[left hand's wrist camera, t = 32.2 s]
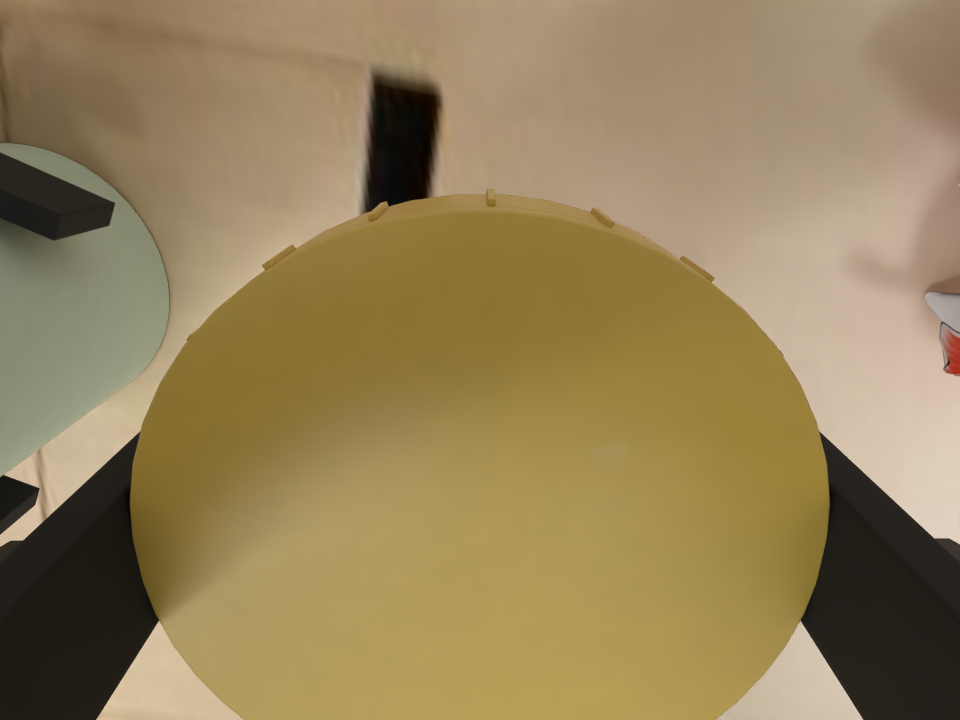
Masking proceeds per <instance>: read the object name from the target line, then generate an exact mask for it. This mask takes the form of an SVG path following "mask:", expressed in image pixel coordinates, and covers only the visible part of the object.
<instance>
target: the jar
mask: <svg viewBox="0 0 960 720" xmlns="http://www.w3.org/2000/svg"><path fill="white" fill-rule="evenodd" d="M0 152H1V153H3V154H5V155H8V156H10V157H12V158H14V159H17V160H19V161H21V162H24V163H26V164H28V165H30V166H33V167H35V168H37V169H39V170H42V171H44V172H46V173H48V174H51V175H53V176H55V177H58V178H60V179H62V180H64V181H67V182H69V183H71V184H73V185H76V186H78V187H80V188H83V189H85V190H87V191H89V192H92V193H94V194H96V195H98V196H101V197H103V198H105V199H108V200H110V201H112V202H114V203H115V207H114V210H113V214H112V218H111V222H110V225H109V226H107V227H103V228H99V229H96V230H92V231H88V232H84V233H81V234H77V235H73V236H70V237H66V238H62V239H59V240H55V241H53V240H51V239H48V238H46V237H44V236H41V235H39V234H37V233H34V232H32V231H30V230H27V229H25V228H23V227H20V226H18V225H16V224H13V223H11V222H8V221H6V220H4V219H1V218H0V477H1V476H3V475H4V474H5V473H7V472H8V471H9V470H11V469H12V468H14V467H15V466H16V465H18V464H19V463H20V462H22V461H23V460H24V459H26V458H27V457H29V456H30V455H31V454H33V453H34V452H35V451H37V450H38V449H39V448H41V447H42V446H44V445H45V444H46V443H48V442H49V441H50V440H52V439H53V438H55V437H56V436H57V435H59V434H60V433H61V432H63V431H64V430H65V429H67V428H68V427H70V426H71V425H72V424H74V423H75V422H76V421H78V420H79V419H80V418H82V417H83V416H85V415H86V414H87V413H89V412H90V411H91V410H93V409H94V408H96V407H97V406H98V405H100V404H101V403H102V402H104V401H105V400H106V399H108V398H109V397H111V396H112V395H113V394H115V393H116V392H117V391H119V390H120V389H122V388H123V387H124V386H126V385H127V384H128V383H130V382H131V381H132V380H134V379H135V378H136V377H137V376H138V375H139V374H140V373H141V372H143V371H144V369H145V368H146V367H147V366H148V364H149V363H150V362H151V361H152V360H153V358H154V356H155V354H156V353H157V351H158V349H159V347H160V345H161V342H162V340H163V337H164V335H165V331H166V327H167V322H168V316H169V288H168V281H167V276H166V272H165V268H164V265H163V262H162V259H161V256H160V253H159V250H158V248H157V246H156V244H155V242H154V240H153V238H152V236H151V234H150V232H149V231H148V229H147V228H146V226H145V224H144V223H143V221H142V219H141V218H140V217H139V216H138V214H137V213H136V212H135V211H134V209H133V208H132V207H131V205H130V204H129V203H128V202H127V201H126V200H125V199H124V198H123V197H122V196H121V195H120V194H119V193H118V192H117V191H116V190H115V189H114V188H113V187H112V186H110V185H109V184H108V183H107V182H105V181H104V180H103V179H102V178H101V177H99V176H98V175H96V174H95V173H93V172H92V171H90V170H89V169H87V168H86V167H84V166H82V165H80V164H79V163H77V162H75V161H73V160H71V159H69V158H67V157H65V156H62V155H59V154H57V153H54V152H51V151H49V150H46V149H42V148H37V147H33V146H29V145H22V144H13V143H0Z"/></svg>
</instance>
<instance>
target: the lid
mask: <svg viewBox="0 0 960 720" xmlns="http://www.w3.org/2000/svg"><path fill="white" fill-rule="evenodd" d="M262 266H263V267H264V269H265V271H263V272H262V273H261V274H259V275H258V276H256V277H255V278H254V279H252V280H251V281H250V282H249V283H248V284H246V285H245V286H244V287H243V288H241V289H240V290H239V291H238V292H237V293H235V294H234V295H233V296H232V297H231V298H229V299H228V300H227V301H226V302H225V303H223V304H222V305H221V306H220V307H219V308H217V309H216V310H215V311H214V312H213V313H212V314H211V316H210V317H209V318H208V319H207V320H206V321H205V322H204V324H203V325H202V326H201V327H200V328H199V329H197V330H196V331H195V332H193V333H192V334H191V335H190V336H189V337H188V338H187V341H188V342H187V343H186V344H185V345H184V346H183V348H182V349H181V351H180V353H179V354H178V356H177V357H176V359H175V360H174V362H173V364H172V365H171V367H170V368H169V370H168V371H167V373H166V374H165V376H164V378H163V379H162V381H161V382H160V384H159V387H158V389H157V391H156V393H155V396H154V398H153V400H152V403H151V405H150V407H149V410H148V412H147V414H146V417H145V419H144V421H143V424H142V428H141V432H140V436H139V440H138V444H137V448H136V452H135V456H134V460H133V468H132V480H131V492H130V515H131V528H132V537H133V542H134V546H135V551H136V555H137V559H138V563H139V568H140V572H141V576H142V580H143V584H144V587H145V589H146V592H147V594H148V597H149V599H150V602H151V604H152V607H153V609H154V612H155V614H156V616H157V618H158V619H159V621H160V623H161V625H162V626H163V628H164V630H165V632H166V633H167V635H168V637H169V639H170V640H171V642H172V644H173V646H174V647H175V648H176V650H177V651H178V652H179V654H180V655H181V656H182V657H183V659H184V660H185V661H186V663H187V664H188V665H189V667H190V668H191V669H192V671H193V672H194V673H195V675H196V676H197V677H198V678H199V679H200V680H201V681H202V682H203V683H204V684H205V685H206V686H207V687H208V688H209V689H210V690H211V691H212V692H213V693H214V694H215V695H216V696H217V697H218V698H219V699H220V700H221V701H222V702H223V703H224V704H225V705H227V706H228V707H229V708H230V709H231V710H233V711H234V712H235V713H236V714H238V715H239V716H240V717H241V718H243V719H244V720H716V719H717V718H718V717H719V716H720V715H722V714H723V713H724V712H725V711H727V710H728V709H729V708H730V707H732V706H733V705H734V704H735V703H737V702H738V701H739V700H740V699H741V698H742V697H743V696H744V695H745V694H746V693H747V691H748V690H749V689H750V688H751V687H752V686H753V685H754V684H755V683H756V682H757V681H758V680H759V679H760V678H761V677H762V676H763V675H764V674H765V672H766V671H767V670H768V669H769V667H770V666H771V665H772V663H773V662H774V661H775V659H776V658H777V657H778V655H779V654H780V653H781V651H782V650H783V649H784V647H785V646H786V645H787V643H788V641H789V639H790V638H791V636H792V634H793V632H794V631H795V629H796V627H797V625H798V624H799V622H800V620H801V618H802V617H803V615H804V613H805V611H806V608H807V606H808V603H809V601H810V598H811V596H812V593H813V591H814V588H815V585H816V581H817V577H818V573H819V569H820V565H821V560H822V556H823V552H824V548H825V543H826V538H827V533H828V523H829V510H830V496H829V484H828V472H827V462H826V458H825V454H824V450H823V446H822V442H821V438H820V434H819V430H818V426H817V422H816V420H815V417H814V415H813V413H812V410H811V408H810V406H809V403H808V401H807V399H806V396H805V394H804V392H803V389H802V387H801V385H800V383H799V381H798V380H797V378H796V376H795V375H794V373H793V372H792V370H791V369H790V367H789V365H788V364H787V362H786V361H785V359H784V358H783V354H782V352H781V351H780V350H779V349H778V348H777V347H776V345H775V344H774V343H773V342H772V341H771V340H770V338H769V337H768V336H767V335H766V334H765V333H764V332H763V330H762V329H761V328H760V327H759V326H758V325H757V324H756V323H755V321H754V320H753V319H752V318H751V317H750V316H749V315H748V314H747V312H746V311H745V310H744V309H742V308H741V307H740V306H739V305H738V304H736V303H735V302H734V301H733V300H732V299H730V298H729V297H728V296H727V295H726V294H724V293H723V292H722V291H721V290H720V289H718V288H717V287H716V286H715V285H714V284H712V283H711V282H712V281H713V280H714V277H713V276H712V275H710V274H709V273H708V272H706V271H705V270H703V269H702V268H700V267H699V266H697V265H696V264H694V263H693V262H692V261H690V260H689V259H687V258H686V257H684V256H682V257H681V258H680V259H678V258H677V257H676V256H674V255H673V254H672V253H670V252H668V251H667V250H665V249H663V248H662V247H660V246H658V245H657V244H655V243H654V242H652V241H650V240H649V239H647V238H645V237H644V236H642V235H641V234H639V233H637V232H636V231H634V230H631V229H629V228H627V227H625V226H622V225H620V224H618V223H615V222H614V221H612V220H611V219H610V218H609V217H607V216H606V215H605V214H603V213H602V212H601V211H600V210H598V209H596V208H592V210H591V212H588V211H584V210H581V209H577V208H574V207H570V206H566V205H563V204H559V203H556V202H552V201H547V200H540V199H533V198H525V197H518V196H511V195H495V194H494V189H487V195H459V194H457V195H449V196H442V197H435V198H427V199H420V200H412V201H408V202H404V203H401V204H397V205H393V206H390V207H388V204H387V202H383V203H380V204H379V205H378V206H377V207H376V208H375V209H374V210H372V211H371V212H368V213H365V214H363V215H361V216H358V217H356V218H354V219H351V220H349V221H347V222H344V223H342V224H340V225H337V226H335V227H333V228H331V229H328V230H326V231H324V232H323V233H321V234H319V235H318V236H316V237H314V238H313V239H311V240H309V241H308V242H306V243H305V244H303V245H301V246H300V247H298V248H295V247H294V246H293V245H291V246H289V247H288V248H286V249H285V250H283V251H282V252H280V253H279V254H278V255H276V256H275V257H273V258H272V259H270V260H269V261H267V262H266V263H265V264H263V265H262Z"/></svg>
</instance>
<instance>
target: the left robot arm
mask: <svg viewBox="0 0 960 720" xmlns="http://www.w3.org/2000/svg"><path fill="white" fill-rule="evenodd" d="M140 432H141V431H140ZM140 432H139V433H138V434H137V435H136V436H135V437H134V438H133V439H132V440H131V441H129V442H128V443H127V444H126V445H125V446H124V447H123V448H122V449H121V450H120V451H119V452H118V453H117V454H116V455H114V456H113V457H112V458H111V459H110V460H109V461H108V462H107V463H106V464H105V465H104V466H103V467H102V468H101V469H99V470H98V471H97V472H96V473H95V474H94V475H93V476H92V477H91V478H90V479H89V480H88V481H87V482H85V483H84V484H83V485H82V486H81V487H80V488H79V489H78V490H77V491H76V492H75V493H74V494H73V495H72V496H70V497H69V498H68V499H67V500H66V501H65V502H64V503H63V504H62V505H61V506H60V507H59V508H58V509H57V510H55V511H54V512H53V513H52V514H51V515H50V516H49V517H48V518H47V519H46V520H45V521H44V522H43V523H41V524H40V525H39V526H38V527H37V528H36V529H35V530H34V531H33V532H32V533H31V534H30V535H29V536H28V537H26V538H25V539H24V540H23V541H10V542H8V543H6V544H4V545H3V546H1V547H0V720H96V719H97V717H98V716H99V714H100V713H101V711H102V710H103V708H104V706H105V705H106V703H107V702H108V700H109V699H110V697H111V695H112V694H113V692H114V691H115V689H116V688H117V686H118V684H119V683H120V681H121V680H122V678H123V677H124V675H125V673H126V672H127V670H128V669H129V667H130V665H131V664H132V662H133V661H134V659H135V658H136V656H137V654H138V653H139V651H140V650H141V648H142V647H143V645H144V643H145V642H146V640H147V639H148V637H149V636H150V634H151V632H152V631H153V629H154V628H155V626H156V624H157V623H158V621H159V619H158V618H157V616H156V614H155V612H154V609H153V607H152V604H151V602H150V599H149V597H148V594H147V592H146V589H145V587H144V584H143V580H142V576H141V572H140V568H139V563H138V559H137V555H136V551H135V546H134V542H133V537H132V528H131V515H130V492H131V480H132V468H133V460H134V456H135V452H136V448H137V444H138V440H139V436H140ZM819 434H820V438H821V442H822V446H823V450H824V454H825V458H826V462H827V472H828V484H829V496H830V510H829V523H828V533H827V538H826V543H825V548H824V552H823V556H822V560H821V565H820V569H819V573H818V577H817V581H816V585H815V588H814V591H813V593H812V596H811V598H810V601H809V603H808V606H807V608H806V611H805V613H804V615H803V617H802V618H801V622H802V624H803V625H804V627H805V628H806V630H807V631H808V633H809V635H810V636H811V638H812V639H813V641H814V642H815V644H816V646H817V647H818V649H819V650H820V652H821V654H822V655H823V657H824V658H825V660H826V661H827V663H828V665H829V666H830V668H831V669H832V671H833V672H834V674H835V676H836V677H837V679H838V680H839V682H840V683H841V685H842V687H843V688H844V690H845V691H846V693H847V695H848V696H849V698H850V699H851V701H852V702H853V704H854V706H855V707H856V709H857V710H858V712H859V713H860V715H861V717H862V718H863V720H960V544H958V543H956V542H954V541H953V540H951V539H934V538H933V537H932V536H931V535H930V534H929V533H928V532H927V531H926V530H924V529H923V528H922V527H921V526H920V525H919V524H918V523H917V522H916V521H915V520H914V519H913V518H912V517H911V516H909V515H908V514H907V513H906V512H905V511H904V510H903V509H902V508H901V507H900V506H899V505H898V504H897V503H896V502H894V501H893V500H892V499H891V498H890V497H889V496H888V495H887V494H886V493H885V492H884V491H883V490H882V489H880V488H879V487H878V486H877V485H876V484H875V483H874V482H873V481H872V480H871V479H870V478H869V477H868V476H867V475H865V474H864V473H863V472H862V471H861V470H860V469H859V468H858V467H857V466H856V465H855V464H854V463H853V462H852V461H850V460H849V459H848V458H847V457H846V456H845V455H844V454H843V453H842V452H841V451H840V450H839V449H838V448H837V447H835V446H834V445H833V444H832V443H831V442H830V441H829V440H828V439H827V438H826V437H825V436H824V435H823V434H821V433H820V432H819Z"/></svg>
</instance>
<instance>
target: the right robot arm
mask: <svg viewBox="0 0 960 720" xmlns="http://www.w3.org/2000/svg"><path fill="white" fill-rule="evenodd" d="M114 207H115V203H114V202H112V201H110V200H108V199H105V198H103V197H101V196H98V195H96V194H94V193H92V192H89V191H87V190H85V189H83V188H80V187H78V186H76V185H73V184H71V183H69V182H67V181H64V180H62V179H60V178H58V177H55V176H53V175H51V174H48V173H46V172H44V171H42V170H39V169H37V168H35V167H33V166H30V165H28V164H26V163H24V162H21V161H19V160H17V159H14V158H12V157H10V156H8V155H5V154H3V153H1V152H0V218H1V219H4V220H6V221H8V222H11V223H13V224H16V225H18V226H20V227H23V228H25V229H27V230H30V231H32V232H34V233H37V234H39V235H41V236H44V237H46V238H48V239H51V240H53V241H55V240H59V239H62V238H66V237H70V236H73V235H77V234H81V233H84V232H88V231H92V230H96V229H99V228H103V227H107V226H109V225H110V222H111V218H112V214H113V210H114ZM39 489H40V488H37V487H34V486H32V485H29V484H26V483H23V482H21V481H18V480H15V479H13V478H10V477H7V476H5V475H3V476H1V477H0V534H2V533H3V532H4V531H5V530H6V529H7V528H9V527H10V526H11V525H12V524H13V523H14V522H16V521H17V520H18V519H19V518H20V517H21V516H23V515H24V514H25V513H26V512H27V511H29V510H30V509H31V508H32V507H33V506H34V505H35V504H36V500H37V496H38V492H39Z"/></svg>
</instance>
